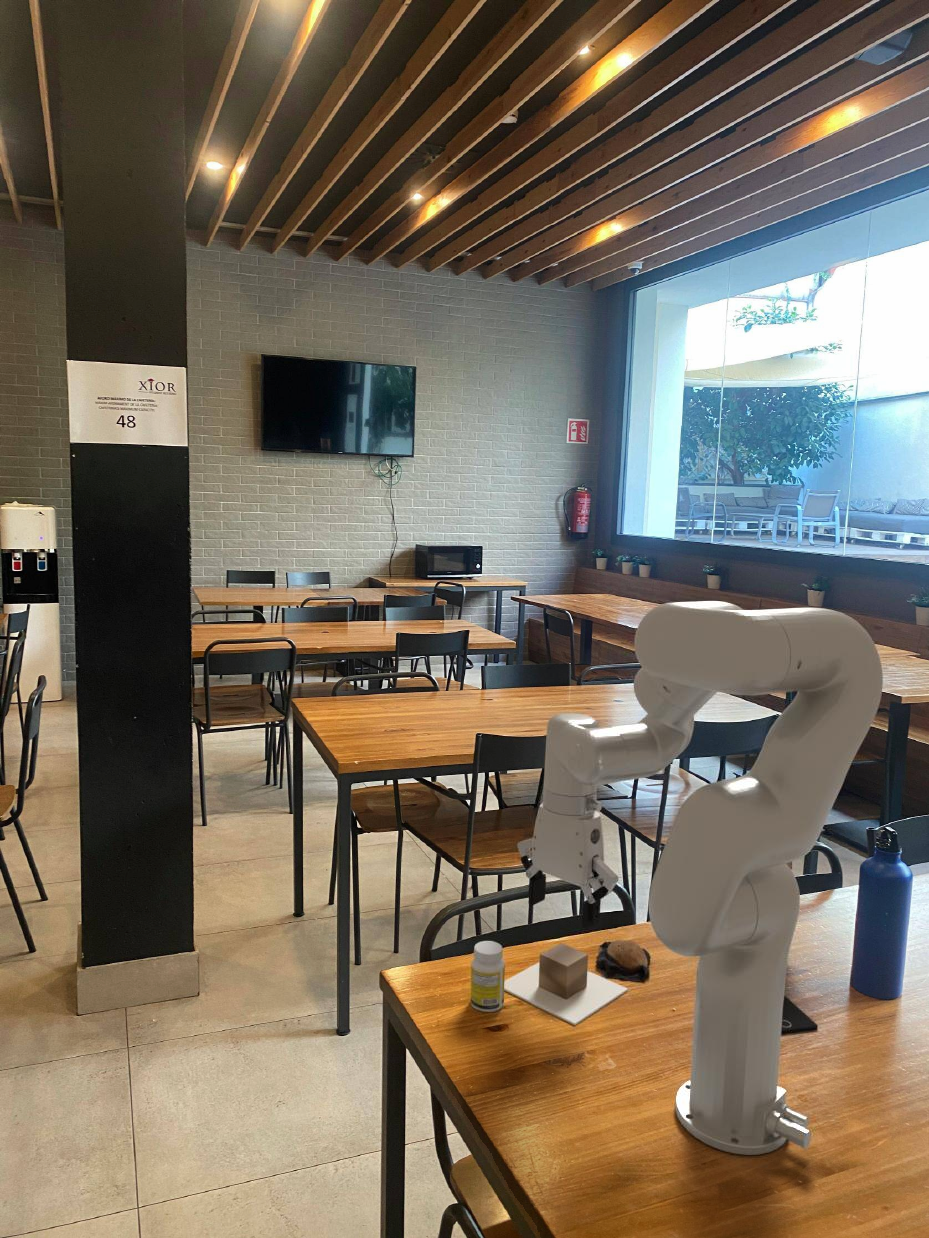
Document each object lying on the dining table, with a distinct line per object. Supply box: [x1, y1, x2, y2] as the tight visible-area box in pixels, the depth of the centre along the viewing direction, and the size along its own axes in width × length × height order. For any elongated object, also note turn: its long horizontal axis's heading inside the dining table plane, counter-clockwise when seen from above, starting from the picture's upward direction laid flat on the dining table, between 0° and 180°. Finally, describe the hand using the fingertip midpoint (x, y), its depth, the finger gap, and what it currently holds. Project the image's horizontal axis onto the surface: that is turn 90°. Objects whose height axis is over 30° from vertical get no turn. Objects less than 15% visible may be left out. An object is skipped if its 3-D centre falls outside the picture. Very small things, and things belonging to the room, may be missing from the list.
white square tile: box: [504, 961, 629, 1026], centre depth 130 cm, size 14×13×1 cm
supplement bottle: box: [470, 940, 506, 1013], centre depth 125 cm, size 5×5×8 cm
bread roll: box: [596, 939, 651, 983], centre depth 138 cm, size 11×8×4 cm
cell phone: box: [781, 994, 819, 1036], centre depth 129 cm, size 9×18×1 cm, turn 13°
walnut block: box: [539, 942, 589, 1000], centre depth 130 cm, size 5×5×5 cm
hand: (562, 913), depth 129 cm, fingers open, 9 cm apart
